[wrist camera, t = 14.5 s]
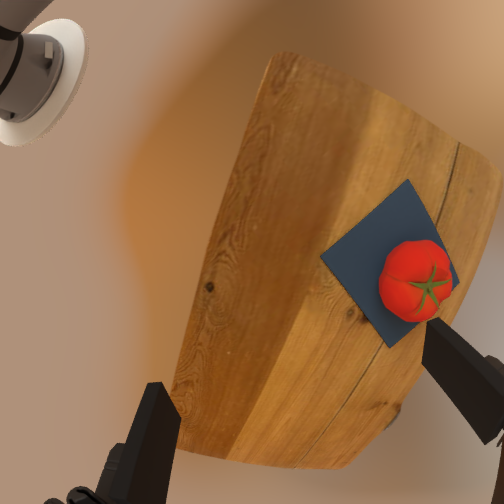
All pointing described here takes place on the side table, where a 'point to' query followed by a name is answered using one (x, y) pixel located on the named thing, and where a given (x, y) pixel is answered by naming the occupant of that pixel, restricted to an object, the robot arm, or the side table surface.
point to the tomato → (415, 280)
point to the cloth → (381, 255)
